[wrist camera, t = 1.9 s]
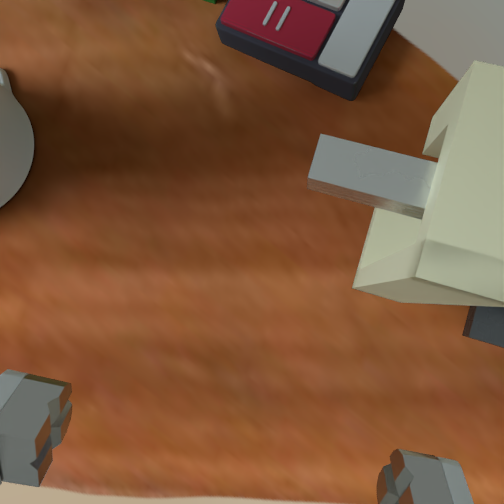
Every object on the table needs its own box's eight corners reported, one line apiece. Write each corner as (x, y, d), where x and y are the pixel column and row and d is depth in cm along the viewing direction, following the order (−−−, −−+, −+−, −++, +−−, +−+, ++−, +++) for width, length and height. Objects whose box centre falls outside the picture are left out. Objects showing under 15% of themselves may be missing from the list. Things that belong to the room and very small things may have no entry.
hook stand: (290, 284, 42) (280, 267, 19) (320, 184, 43) (346, 47, 19) (578, 370, 39) (1003, 479, 15) (605, 260, 39) (1051, 205, 16)
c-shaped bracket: (351, 288, 36) (415, 276, 17) (380, 187, 37) (474, 60, 17) (400, 302, 36) (525, 307, 16) (428, 199, 37) (582, 84, 17)
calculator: (265, -78, 42) (413, -26, 40) (270, -43, 47) (404, 6, 44) (211, 21, 42) (357, 81, 39) (221, 47, 46) (353, 103, 43)
